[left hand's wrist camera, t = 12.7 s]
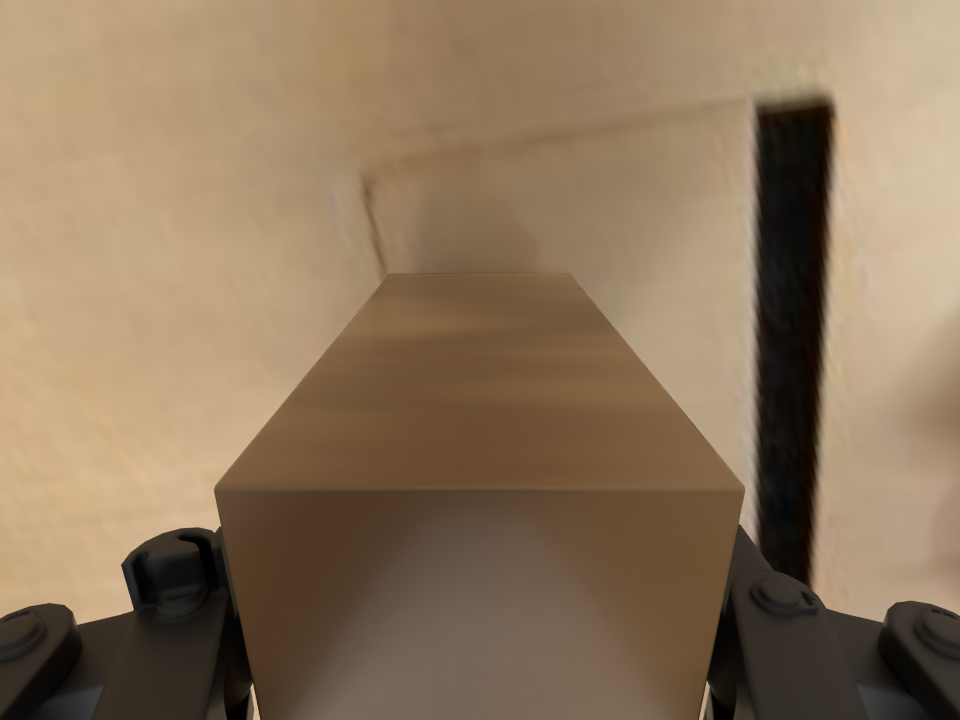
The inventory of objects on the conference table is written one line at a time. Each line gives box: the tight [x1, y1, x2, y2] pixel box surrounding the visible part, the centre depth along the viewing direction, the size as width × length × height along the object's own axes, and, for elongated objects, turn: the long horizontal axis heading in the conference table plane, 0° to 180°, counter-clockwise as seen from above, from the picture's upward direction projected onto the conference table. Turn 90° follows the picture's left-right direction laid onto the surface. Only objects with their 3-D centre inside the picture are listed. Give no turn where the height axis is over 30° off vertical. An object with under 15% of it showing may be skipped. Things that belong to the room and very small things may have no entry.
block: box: [214, 274, 745, 720], centre depth 12 cm, size 6×8×12 cm
